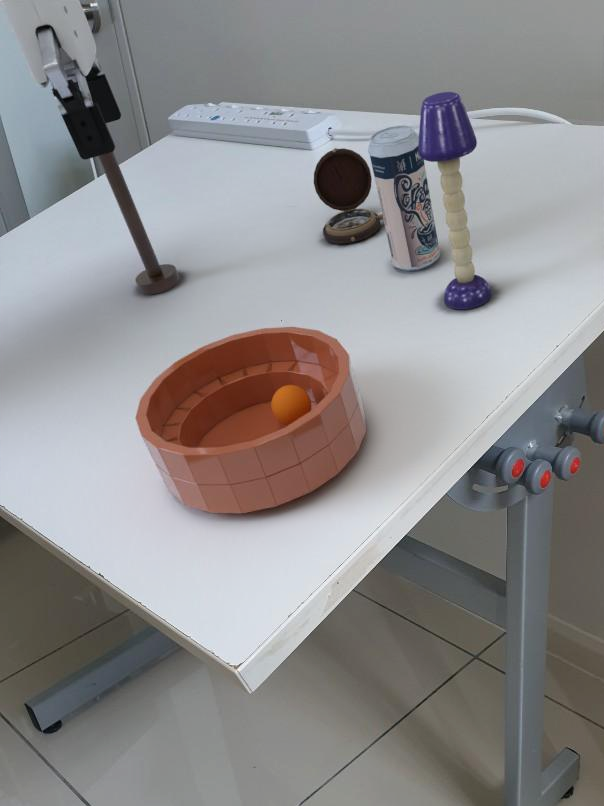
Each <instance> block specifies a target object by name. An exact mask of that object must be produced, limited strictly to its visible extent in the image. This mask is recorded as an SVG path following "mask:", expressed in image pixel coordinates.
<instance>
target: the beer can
mask: <svg viewBox="0 0 604 806" xmlns="http://www.w3.org/2000/svg"><path fill="white" fill-rule="evenodd" d="M418 144H419V134H417V132H416V130H415V129H414V128H413V126H409V125H395V126H388V127H386V128H382V129H381V130H378V131H376V132H375V133H373V135H371V136H370V140H369V145H368V148H367V153H368V155H369V158H370V163H371V168H372V173H373V176H374V177H373V178H374V181H375V186H376V191H377V197H378V199H379V204H380V209H381V214H383V219H384V220H383V223H384V228H385V232H386V238H387V243H388V247H389V251H390V257H391V264H392V265H393V266H394V267H395V268H397V269H399V270H402V271H408V272H414V271H420V270H424V269H426V268H428V267H430V266H432V264H434V262H436V261H438V259H439V258H440V256H441V250H440V245H439V244H440V243H439V239H438V234H437V228H436V221H435V217H434V211H433V205H432V200H431V193H430V188H429V183H428V177H427V169H426V164H425V160H423V159H422V158H421V157H420V156H419V152H418Z"/></svg>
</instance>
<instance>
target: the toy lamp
mask: <svg viewBox="0 0 604 806" xmlns="http://www.w3.org/2000/svg"><path fill="white" fill-rule="evenodd" d="M419 120H420V121H419V130H418V136H419V144H418V152H419V156H420V157H421V158H422V159H423V160H424V161H427V162H431V163H437V168H438V170H439V172H440V179H439V181H440V188H441V189H442V191H443V195H442V196H443V197H442V202H443V203H442V204H443V207H444V209H445V210H446V212H445V222H446V223H445V224H446V225H447V228H448V229H449V230H448V240H449V241H448V242H449V243H450V245H451V259H452V262H453V263H454V269H453V272H454V276H455V277H454V278H453V279H452V280H450V281H449V283H448V284H447V286H446V288H445V290H444V296H443V301H444V304H445V306H446V307H448V308H450V309H453V310H470V309H475V308H478V307H479V306H482V305H484V304H485V303H488V301H489V300H490V299H491V297H492V295H493V292H492V289H491V286H490V284H489V282H488V281H487V279H485V278H483V277H482V276H480V275H478V274H475V273H476V269H475V265H474V263H473V261H472V260H473V249H472V246H471V244H470V241H471V233H470V232H471V231H470V230H469V228H468V226H467V225H468V213H467V211H466V209H465V203H466V199H465V193H464V191H463V190H462V188H463V176H462V173H461V172H460V167H461V159H460V158H462V157H465V156H468V155H470V154H471V153H473V152H474V151H475V149H476V148H477V145H478V141H477V136H476V134H475V130H474V129H473V126H472V123H471V120H470V117H469V115H468V113H467V109H466V106H465V105H464V102H463V100H462V98H461V96H460V95H459V94H458V92H454V91H443V92H437V93H434V94H431V95H428V96H427V97H425V98H424V99H422V102H421V106H420V119H419Z"/></svg>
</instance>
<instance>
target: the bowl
mask: <svg viewBox="0 0 604 806" xmlns="http://www.w3.org/2000/svg"><path fill="white" fill-rule="evenodd" d="M350 357H351V356H350V354H349V353H348V352H347V350H346V348H345V347H344V346H343V345H342V344H341V343H340V341H339V340H338V339H337V338H335V337H333V336H331V335H328V334H326V333H325V332H323V331H320V330H317V329H311V328H305V327H297V326H282V327H281V326H279V327H264V328H259V329H254V330H249V331H245V332H239V333H236V334H231V335H229V336H226V337H224V338H221V339H219V340H216V341H213V342H210V343H208V344H205V345H203V346H201V347H198V348H197V349H196V350H194V351H192V352H190V353H189V354H187V355H185V356H183V357H182V358H180V359H178V360H177V361H175V362H174V363H172V364H171V365H170V366H169V367H167V369H165V370H164V371H163V372H161V373H160V374H159V375H158V376H156V377H155V378H154V380H153V381H152V382H151V384H150V385H149V386H148V387H147V389H146V390H145V392H144V393H143V395H142V396H141V398H140V399H139V403H138V406H137V409H136V410H137V411H136V414H135V421H136V425H137V427H138V430H139V434H140V436H141V438H142V440H143V443H144V444H145V446H146V448H147V451H148V453H149V454H150V456H151V458H152V460H153V463H154V465H155V467H156V468H157V471H158V473H159V474H160V477H161V479H162V480H163V482H164V485H165V487H166V488H167V491H168V492H169V493H170V494H171V495H173V496H174V497H175V498H176V499H177V500H178V501H180V502H181V503H182V504H183V505H184V506H187V507H190V508H194V509H197V510H200V511H204V512H207V513H211V514H246V513H251V512H255V511H261V510H266V509H271V508H275V507H279V506H281V505H283V504H286V503H288V502H291V501H293V500H295V499H298V498H301V497H303V496H305V495H307V494H310V493H312V492H313V491H315V490H316V489H318V488H319V487H321V486H323V485H324V484H325V483H327V482H328V481H329V480H331V479H332V478H334V477H336V476H337V475H338V474H340V472H341V471H342V470H343V469H344V468H345V467H346V466H347V464H348V463H349V462H350V461H351V460H352V459H353V458H354V457H355V456H356V454H357V453H358V452H359V450H360V447H361V444H362V442H363V440H364V437H365V435H366V433H367V427H366V426H367V424H366V413H365V409H364V406H363V401H362V398H361V395H360V390H359V388H358V382H357V380H356V376H355V372H354V368H353V364H352V361H351V358H350ZM287 385H295V386H298V387H301V388H302V389H304V390H305V391H306V392H307V394H308V395H309V397H310V400H311V411H310V412H309V413H307V414H306V415H304V416H302V417H301V418H299V419H298V420H296V421H294V422H293V423H291V424H290V425H287V424H284V423H282V422H280V421H279V420H278V419H277V418H276V417H275V415H274V414H273V411H272V407H271V402H272V398H273V396H274V394H275V393H276V391H277V390H278V389H280V388H281V387H283V386H287Z"/></svg>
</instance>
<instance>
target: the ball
mask: <svg viewBox="0 0 604 806" xmlns="http://www.w3.org/2000/svg"><path fill="white" fill-rule="evenodd" d="M271 407H272V411H273V414H274V415H275V417H276V418H277V419H278V420H279V421H280V422H282V423H284V424H287V425H290V424H291V423H293V422H294V421H296V420H298V419H299V418H301V417H302V416H304V415H306V414H307V413H309V412H310V411H311V400H310V397H309V395H308V394H307V392H306V391H305V390H304V389H302V388H301V387H298V386H295V385H287V386H283V387H281V388H280V389H278V390H277V391H276V393H275V394H274V396H273V398H272V402H271Z"/></svg>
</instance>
